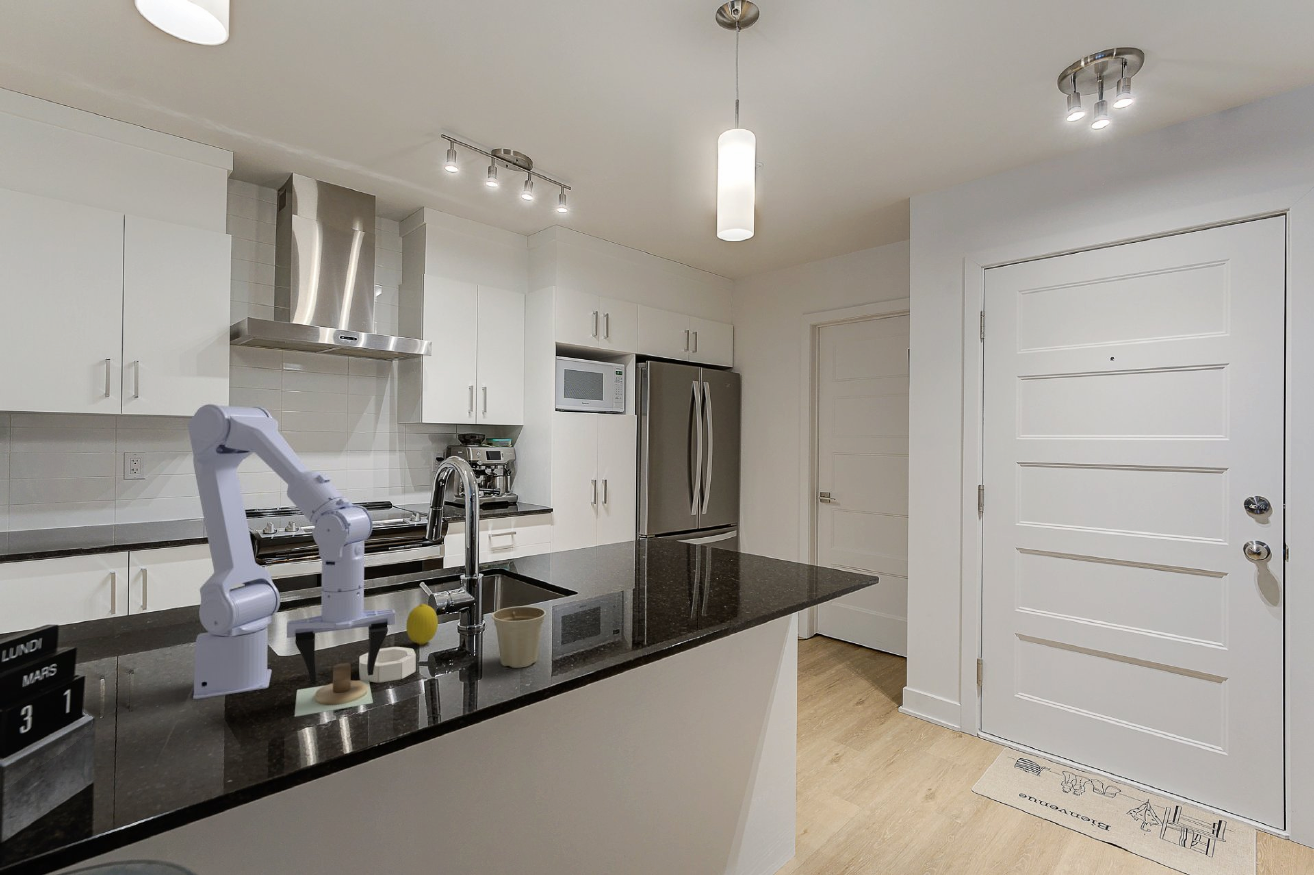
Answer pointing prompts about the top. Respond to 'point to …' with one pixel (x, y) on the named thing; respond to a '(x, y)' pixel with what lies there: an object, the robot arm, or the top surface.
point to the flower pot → (518, 634)
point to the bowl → (389, 664)
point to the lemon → (422, 624)
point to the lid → (341, 687)
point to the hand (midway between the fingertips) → (342, 677)
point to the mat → (310, 706)
